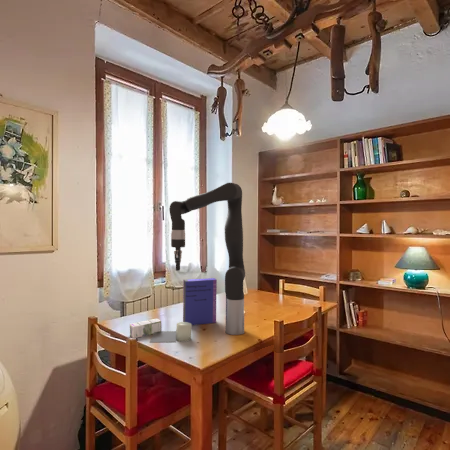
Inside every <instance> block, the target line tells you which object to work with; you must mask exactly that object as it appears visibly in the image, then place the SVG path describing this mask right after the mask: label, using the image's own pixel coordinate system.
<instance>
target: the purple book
mask: <svg viewBox="0 0 450 450" xmlns="http://www.w3.org/2000/svg"><path fill="white" fill-rule="evenodd" d="M182 282H183V283H182V285H183V287H182V290H183V292H182V293H183V294H182V296H183V297H182V298H183V299H182V322H188V323H191V324H192V326H198V325H207V324H209V325H210V324H216V323H217V293H218V292H217V287H218V286H217V285H218V284H217V283H218V282H217V279H216V278H213V277H211V278H192V279H183V281H182Z"/></svg>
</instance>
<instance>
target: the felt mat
mask: <svg viewBox="0 0 450 450" xmlns="http://www.w3.org/2000/svg"><path fill="white" fill-rule="evenodd" d="M177 341H178V340H176V330H170V331H169V330H165V331H164V330H161V332H159V333H155V334H152V336H151V339H150V341H149V343H177Z"/></svg>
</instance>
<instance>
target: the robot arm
mask: <svg viewBox="0 0 450 450" xmlns="http://www.w3.org/2000/svg"><path fill="white" fill-rule="evenodd" d="M223 201H226V202H227V216H226V218H225V219H226V220H225V224H224V242H225V246H226V251H227V252H228V269H227V270H226V272H225V273H224V274H225V276H224V292H225V334H227V335H233V336H236V335H237V336H238V335H244V334H245V293H244V292H245V291H244V280H245V277H246V270H245V269H246V268H245V264H244V262H245V261H244V255H243V254H244V228H243V227H244V226H243V214H242V203H243V190H242V188H241V186H240V184H237V183H234V182H226V183H224V184H222V185H220V186H218V187H216V188H215V189H212V190H210V191H207V192H204V193H200V194H197V195H194V196H191V197H188V198H186V199H185V200H183V201H181V200H179V201H178V200H173V201H172V202H171V203H170V204H169V209H168V211H169V216H170V220H171V233H170V234H171V235H170V237H171V238H170V242H171V243H170V245H171V246H170V247H171V248H175V250H174V251H173V254H174V255H173V256H174V263H175V271H180V270H181V262H182V254H183V250H181V249H182V248H185V247H186V224H185V223H186V222H185V221H186V220H185V219H183V217H182V215H185V214H188V213H190V212H192V211H195V210H199V209H200V210H201V209H203V208H206V207H207V206H209V205H212V204H214V203H217V202H223Z"/></svg>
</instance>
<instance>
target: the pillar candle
mask: <svg viewBox="0 0 450 450" xmlns="http://www.w3.org/2000/svg"><path fill="white" fill-rule="evenodd" d="M192 326H193V325H192V324H191V323H188V322H183V321H178V322H177V323H176V330H175V331H176V340H177V341H178V342H183V343H184V342H188V341H190V340H191V337H192Z"/></svg>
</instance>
